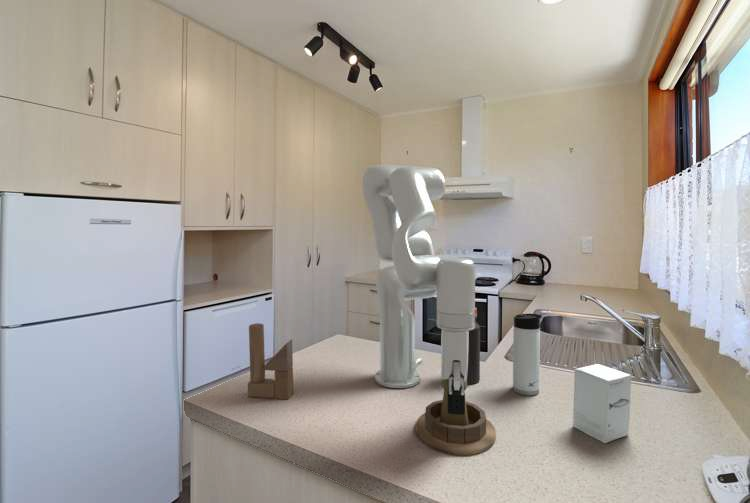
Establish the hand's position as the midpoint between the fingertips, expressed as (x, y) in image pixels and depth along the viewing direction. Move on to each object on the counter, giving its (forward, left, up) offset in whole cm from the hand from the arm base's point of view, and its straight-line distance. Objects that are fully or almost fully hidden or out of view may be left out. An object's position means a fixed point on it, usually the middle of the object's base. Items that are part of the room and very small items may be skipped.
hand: (455, 401), depth 76 cm
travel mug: (-29, +5, -6) cm, 30 cm away
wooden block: (+14, -44, -7) cm, 47 cm away
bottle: (-26, -10, -6) cm, 29 cm away
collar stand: (0, 0, -6) cm, 6 cm away
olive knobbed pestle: (0, 0, -6) cm, 6 cm away
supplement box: (-19, +23, -7) cm, 31 cm away
